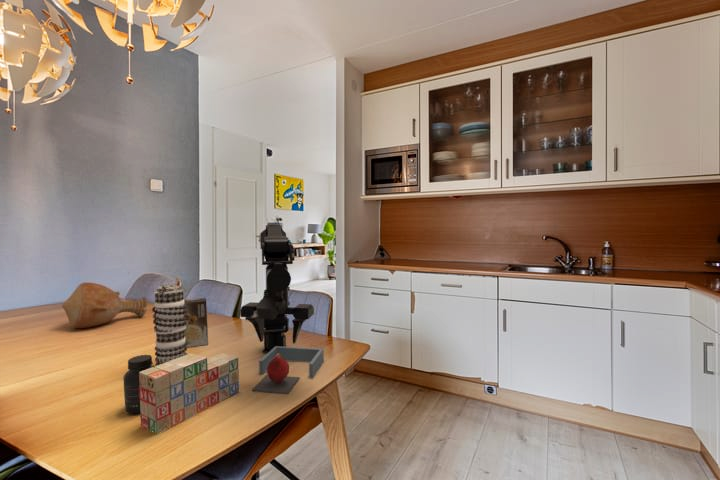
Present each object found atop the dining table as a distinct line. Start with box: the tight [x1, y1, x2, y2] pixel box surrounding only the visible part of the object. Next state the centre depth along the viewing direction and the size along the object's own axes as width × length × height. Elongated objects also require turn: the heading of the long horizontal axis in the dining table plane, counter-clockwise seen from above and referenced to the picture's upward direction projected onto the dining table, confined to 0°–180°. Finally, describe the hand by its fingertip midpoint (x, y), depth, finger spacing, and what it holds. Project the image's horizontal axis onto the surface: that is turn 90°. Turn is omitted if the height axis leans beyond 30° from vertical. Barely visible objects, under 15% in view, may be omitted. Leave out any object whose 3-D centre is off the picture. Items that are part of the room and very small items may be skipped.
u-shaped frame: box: [258, 346, 325, 379], centre depth 105 cm, size 16×12×4 cm
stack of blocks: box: [139, 352, 240, 435], centre depth 82 cm, size 21×6×12 cm, turn 150°
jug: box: [61, 282, 148, 329], centre depth 153 cm, size 20×19×30 cm
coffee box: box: [183, 297, 209, 349], centre depth 126 cm, size 9×6×16 cm
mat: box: [251, 374, 301, 395], centre depth 94 cm, size 10×9×1 cm
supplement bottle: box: [123, 354, 155, 416], centre depth 82 cm, size 7×7×12 cm
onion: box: [266, 354, 290, 383], centre depth 94 cm, size 6×6×8 cm
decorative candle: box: [151, 284, 188, 367], centre depth 105 cm, size 9×9×25 cm
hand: (277, 342), depth 93 cm, fingers open, 9 cm apart
